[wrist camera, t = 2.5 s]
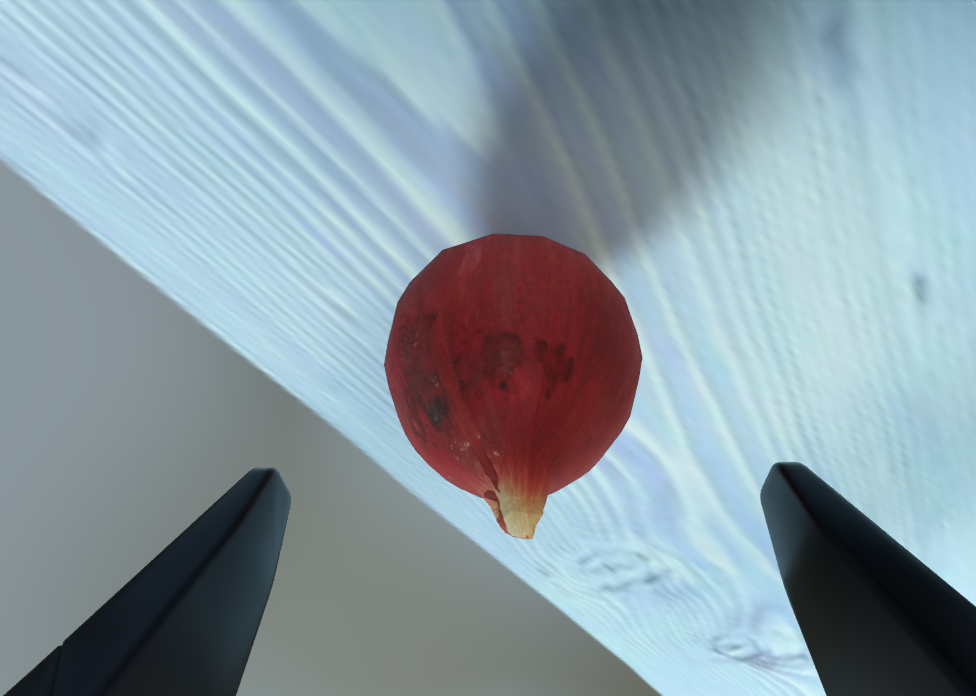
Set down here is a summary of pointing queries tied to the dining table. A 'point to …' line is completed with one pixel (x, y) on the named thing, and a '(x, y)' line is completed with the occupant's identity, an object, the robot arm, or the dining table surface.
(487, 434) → the onion
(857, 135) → the dining table surface
